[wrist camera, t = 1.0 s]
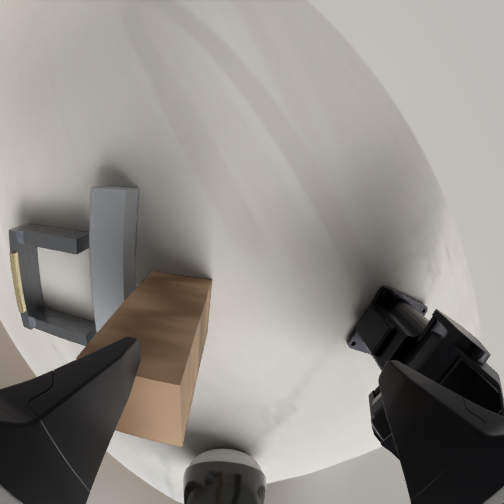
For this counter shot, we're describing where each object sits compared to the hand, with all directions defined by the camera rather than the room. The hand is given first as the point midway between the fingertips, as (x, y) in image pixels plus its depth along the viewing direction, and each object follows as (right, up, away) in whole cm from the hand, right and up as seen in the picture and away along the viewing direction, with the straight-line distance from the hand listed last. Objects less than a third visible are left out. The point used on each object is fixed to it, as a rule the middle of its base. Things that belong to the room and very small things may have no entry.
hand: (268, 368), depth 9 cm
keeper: (-18, +1, +13) cm, 22 cm away
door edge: (-12, 0, +13) cm, 18 cm away
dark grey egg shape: (-4, -23, +20) cm, 31 cm away
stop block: (-6, 0, +13) cm, 15 cm away
